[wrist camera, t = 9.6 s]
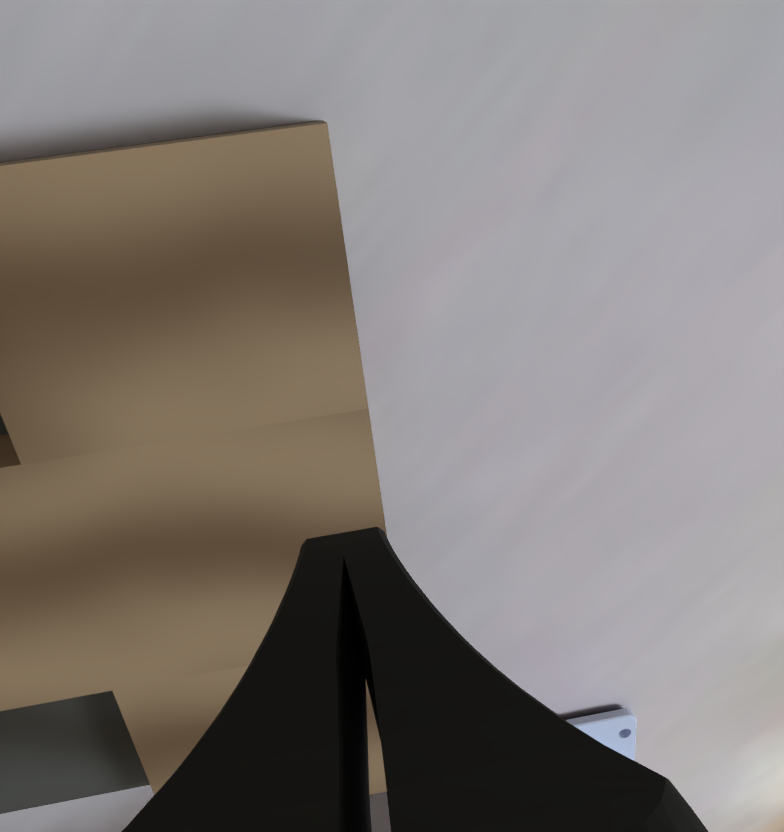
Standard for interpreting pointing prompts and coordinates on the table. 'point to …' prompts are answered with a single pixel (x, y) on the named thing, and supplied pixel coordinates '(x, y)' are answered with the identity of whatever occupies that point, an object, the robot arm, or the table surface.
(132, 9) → the table surface
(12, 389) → the trap deck
